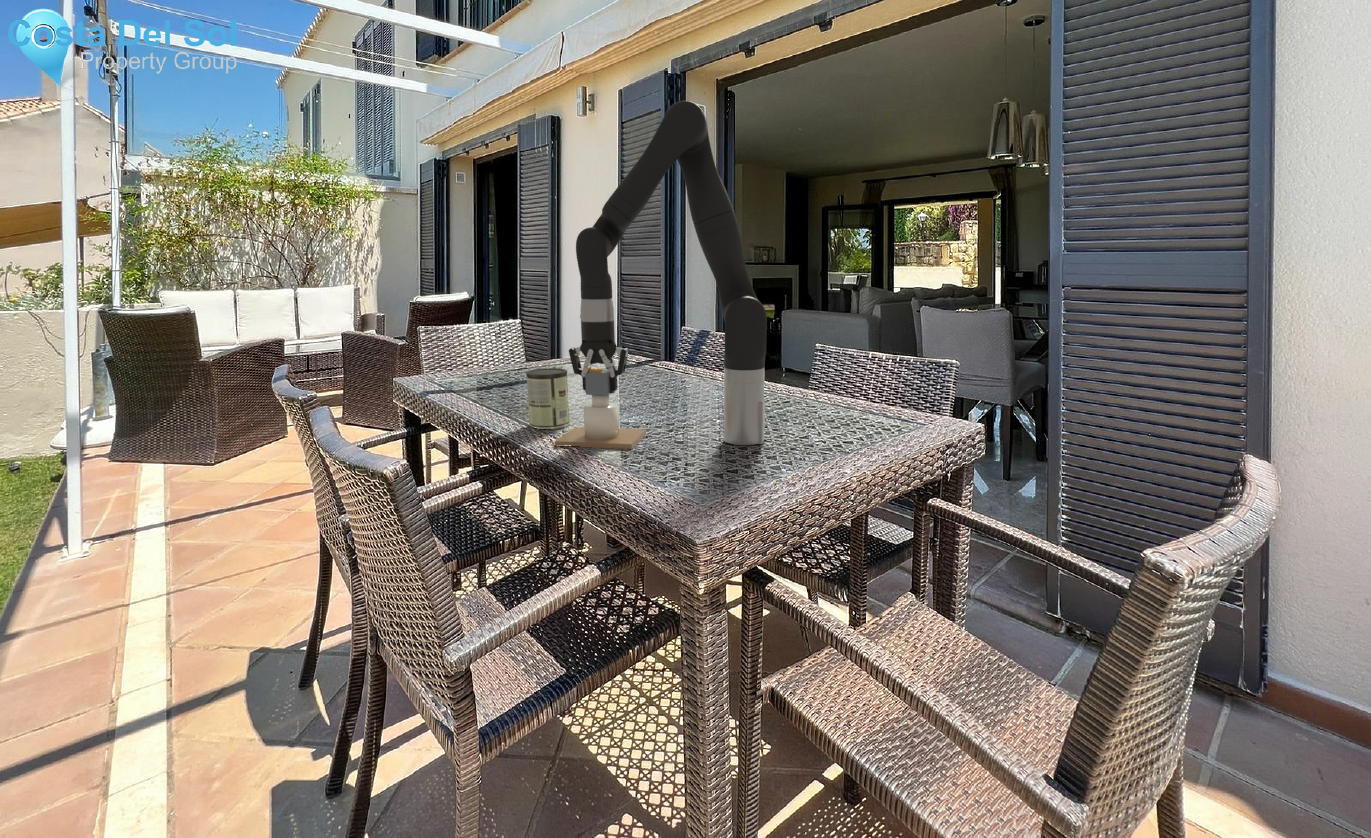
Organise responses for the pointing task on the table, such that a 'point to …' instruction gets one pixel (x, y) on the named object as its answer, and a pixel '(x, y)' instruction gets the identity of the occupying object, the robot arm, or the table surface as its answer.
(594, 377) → the grey cube with tab
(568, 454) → the table surface
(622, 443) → the board with white bottle
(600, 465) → the table surface
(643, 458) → the table surface
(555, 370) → the coffee can
